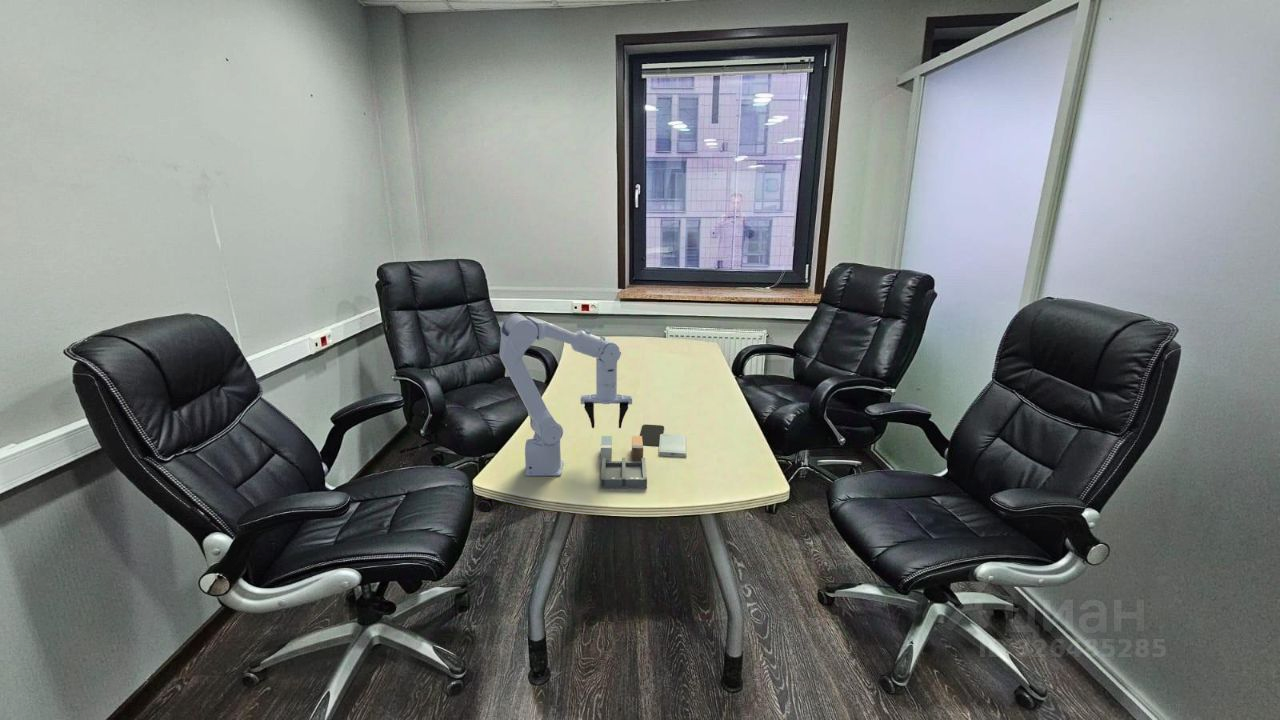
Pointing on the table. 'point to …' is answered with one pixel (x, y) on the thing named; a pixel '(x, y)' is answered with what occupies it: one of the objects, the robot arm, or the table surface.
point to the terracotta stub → (637, 448)
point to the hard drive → (672, 445)
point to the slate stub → (606, 448)
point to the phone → (651, 434)
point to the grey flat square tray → (623, 474)
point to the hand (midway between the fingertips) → (606, 426)
